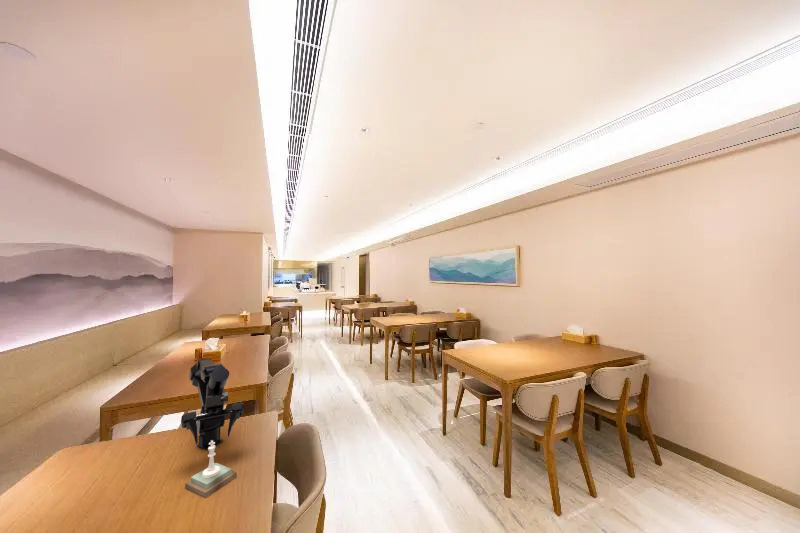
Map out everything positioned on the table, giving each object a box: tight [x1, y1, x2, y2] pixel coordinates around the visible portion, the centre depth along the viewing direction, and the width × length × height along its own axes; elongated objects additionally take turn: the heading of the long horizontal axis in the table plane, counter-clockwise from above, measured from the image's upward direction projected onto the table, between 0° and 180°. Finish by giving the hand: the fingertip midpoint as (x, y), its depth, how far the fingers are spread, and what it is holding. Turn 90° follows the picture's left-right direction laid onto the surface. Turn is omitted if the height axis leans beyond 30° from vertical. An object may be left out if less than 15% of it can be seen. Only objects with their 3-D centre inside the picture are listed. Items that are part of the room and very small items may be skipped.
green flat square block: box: [184, 462, 238, 499], centre depth 93 cm, size 10×10×3 cm
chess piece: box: [202, 440, 220, 478], centre depth 94 cm, size 5×5×10 cm
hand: (212, 439), depth 99 cm, fingers open, 9 cm apart
